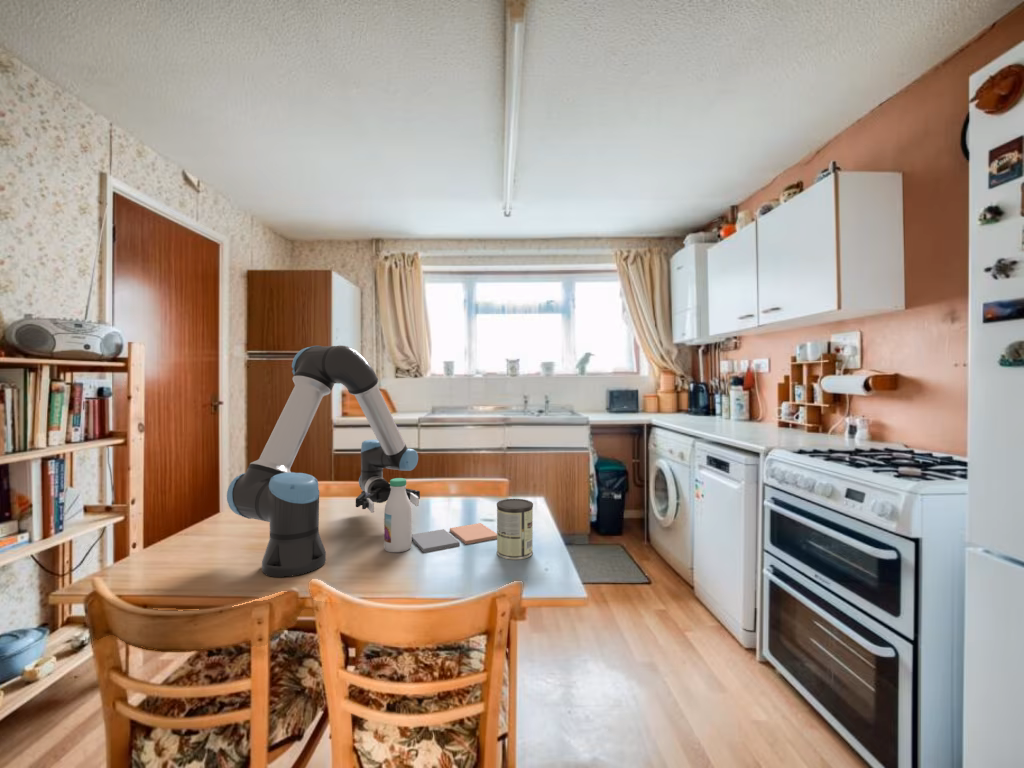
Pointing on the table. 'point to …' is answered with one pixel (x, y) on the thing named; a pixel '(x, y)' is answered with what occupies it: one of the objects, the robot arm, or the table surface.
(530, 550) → the coffee can
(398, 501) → the milk bottle
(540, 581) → the table surface
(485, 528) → the terracotta tile
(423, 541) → the slate tile
